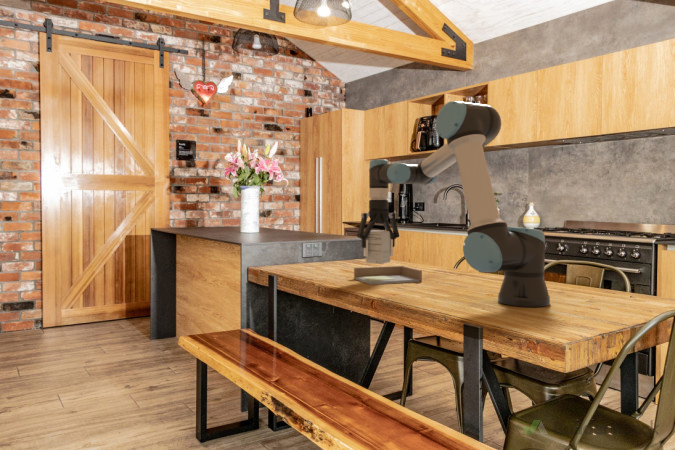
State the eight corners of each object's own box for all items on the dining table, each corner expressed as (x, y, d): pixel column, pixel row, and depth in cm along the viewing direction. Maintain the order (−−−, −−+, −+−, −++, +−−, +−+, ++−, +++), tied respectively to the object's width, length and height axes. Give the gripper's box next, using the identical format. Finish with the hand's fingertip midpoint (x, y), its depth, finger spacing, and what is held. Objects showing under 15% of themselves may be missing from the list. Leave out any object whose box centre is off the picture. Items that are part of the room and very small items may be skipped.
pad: (395, 279, 207) (395, 279, 207) (371, 280, 203) (371, 280, 203) (384, 276, 216) (384, 275, 216) (361, 277, 213) (361, 276, 213)
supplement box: (374, 261, 215) (374, 229, 214) (390, 262, 211) (391, 230, 210) (365, 262, 209) (365, 230, 208) (382, 264, 205) (382, 231, 204)
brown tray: (421, 281, 208) (421, 270, 208) (370, 284, 200) (370, 272, 200) (402, 276, 223) (402, 265, 222) (354, 279, 215) (354, 267, 215)
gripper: (400, 199, 216) (399, 254, 217) (348, 199, 208) (348, 255, 209) (408, 199, 209) (408, 255, 210) (355, 199, 201) (355, 257, 202)
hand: (378, 255), depth 210 cm, fingers closed on supplement box, 10 cm apart
